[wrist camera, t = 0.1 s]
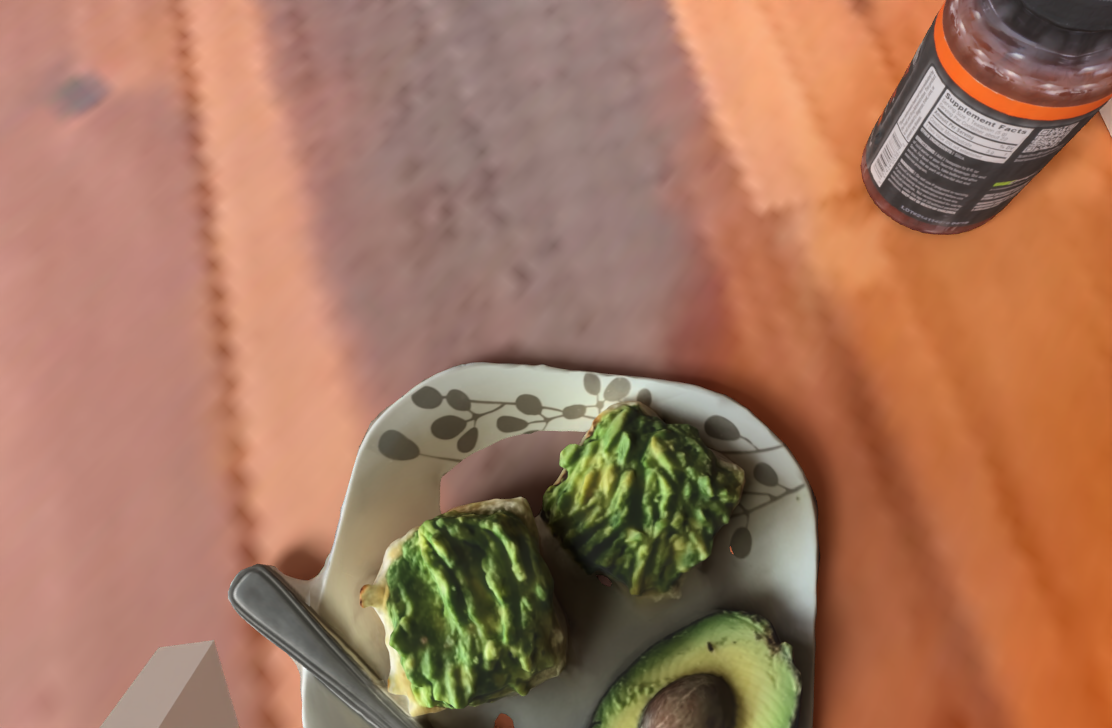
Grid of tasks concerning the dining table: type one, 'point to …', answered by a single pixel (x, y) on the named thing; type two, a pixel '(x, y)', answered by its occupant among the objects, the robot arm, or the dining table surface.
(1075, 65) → the supplement bottle
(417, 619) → the salad plate
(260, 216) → the dining table surface
